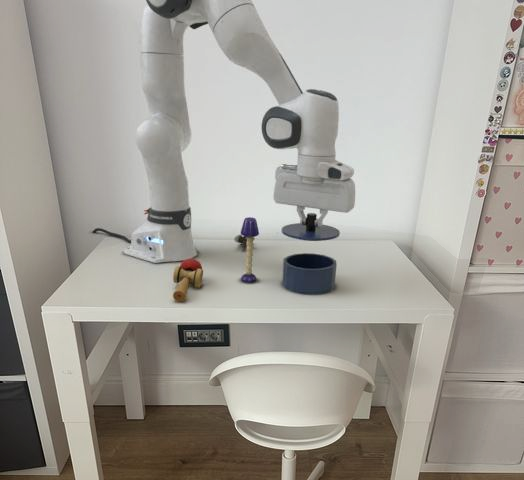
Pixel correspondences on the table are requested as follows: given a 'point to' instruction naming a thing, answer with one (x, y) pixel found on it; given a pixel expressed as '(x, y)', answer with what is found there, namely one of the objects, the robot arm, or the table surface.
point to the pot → (309, 273)
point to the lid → (310, 230)
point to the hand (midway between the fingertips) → (311, 225)
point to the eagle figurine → (242, 241)
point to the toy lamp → (249, 247)
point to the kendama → (187, 277)
